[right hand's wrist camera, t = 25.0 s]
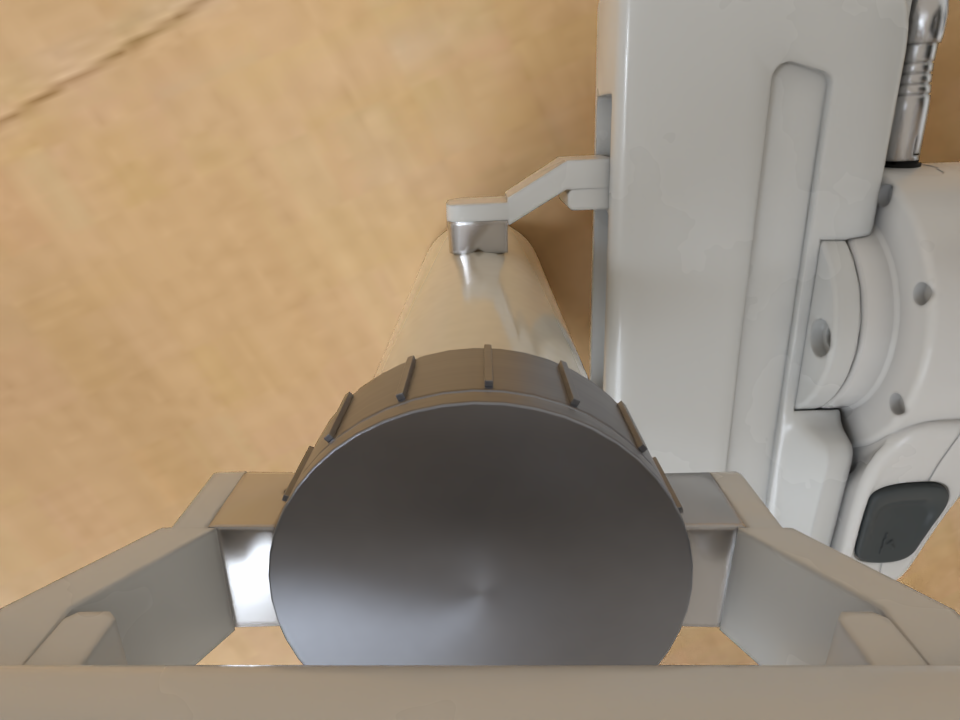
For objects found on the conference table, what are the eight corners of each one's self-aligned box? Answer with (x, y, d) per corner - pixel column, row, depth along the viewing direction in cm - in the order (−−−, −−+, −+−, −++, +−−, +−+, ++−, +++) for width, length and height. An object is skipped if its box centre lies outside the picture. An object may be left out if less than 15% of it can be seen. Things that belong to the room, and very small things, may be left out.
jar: (437, 348, 26) (370, 690, 10) (407, 234, 25) (270, 438, 9) (551, 323, 26) (662, 641, 10) (529, 206, 24) (619, 366, 8)
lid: (240, 542, 10) (190, 631, 9) (433, 267, 9) (421, 305, 7) (515, 690, 12) (521, 795, 10) (731, 475, 10) (788, 554, 8)
